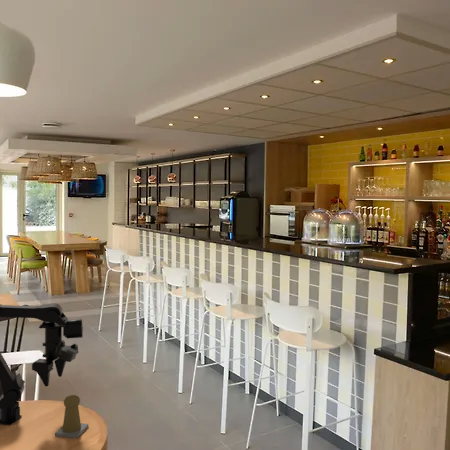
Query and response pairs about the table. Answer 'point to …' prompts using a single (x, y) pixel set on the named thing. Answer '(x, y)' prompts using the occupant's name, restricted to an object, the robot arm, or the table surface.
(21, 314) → the robot arm
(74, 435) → the coaster
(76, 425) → the cork
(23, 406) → the table surface
